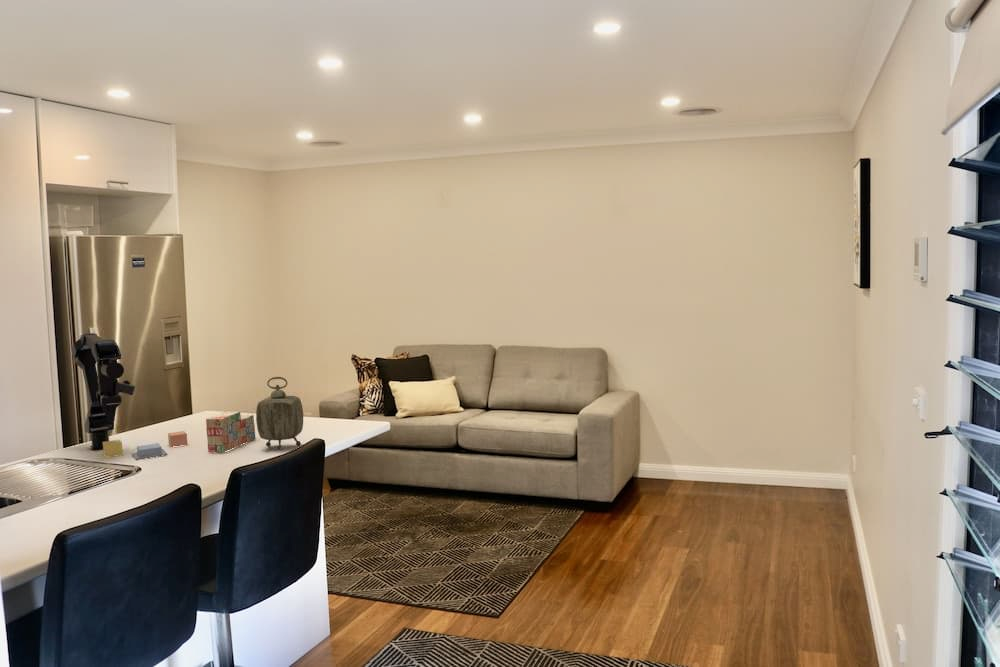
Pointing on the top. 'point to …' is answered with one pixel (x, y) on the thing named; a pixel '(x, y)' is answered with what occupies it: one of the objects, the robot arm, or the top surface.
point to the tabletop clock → (279, 416)
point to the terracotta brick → (177, 438)
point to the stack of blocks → (229, 431)
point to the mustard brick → (112, 448)
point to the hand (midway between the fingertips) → (110, 420)
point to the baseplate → (148, 451)
